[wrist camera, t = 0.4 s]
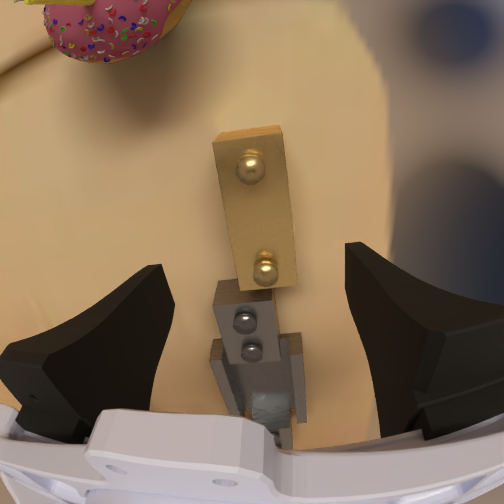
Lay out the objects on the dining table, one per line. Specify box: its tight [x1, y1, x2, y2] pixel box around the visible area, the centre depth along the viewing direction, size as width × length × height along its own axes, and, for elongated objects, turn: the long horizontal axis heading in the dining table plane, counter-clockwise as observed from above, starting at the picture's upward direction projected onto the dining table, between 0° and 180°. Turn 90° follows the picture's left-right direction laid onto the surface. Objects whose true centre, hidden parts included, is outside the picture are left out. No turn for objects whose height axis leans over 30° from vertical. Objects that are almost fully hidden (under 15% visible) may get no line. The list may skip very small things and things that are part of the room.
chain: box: [209, 279, 307, 450], centre depth 27 cm, size 23×8×4 cm, turn 9°
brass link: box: [212, 125, 298, 291], centre depth 18 cm, size 9×4×5 cm, turn 8°
